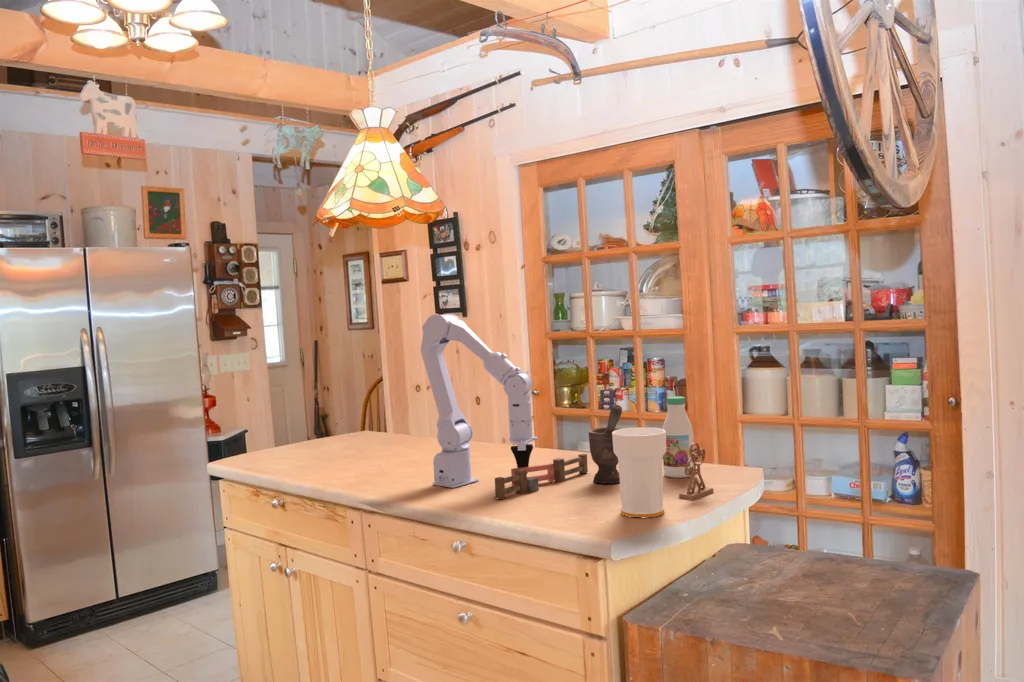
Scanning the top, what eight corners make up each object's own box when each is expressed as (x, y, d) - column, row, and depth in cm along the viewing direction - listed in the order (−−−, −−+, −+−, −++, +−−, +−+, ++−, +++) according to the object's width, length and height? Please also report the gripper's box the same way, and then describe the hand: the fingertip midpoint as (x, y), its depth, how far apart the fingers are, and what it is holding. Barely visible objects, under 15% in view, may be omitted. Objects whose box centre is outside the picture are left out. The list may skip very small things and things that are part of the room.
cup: (642, 523, 162) (638, 437, 161) (604, 513, 171) (600, 432, 170) (681, 512, 169) (677, 430, 168) (642, 503, 178) (638, 425, 177)
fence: (504, 500, 187) (503, 477, 186) (495, 499, 189) (493, 476, 188) (591, 473, 211) (590, 452, 211) (582, 472, 213) (581, 451, 213)
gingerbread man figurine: (693, 500, 178) (691, 447, 177) (678, 498, 181) (676, 445, 180) (714, 492, 184) (712, 440, 184) (699, 490, 187) (697, 439, 186)
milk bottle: (672, 470, 209) (669, 394, 208) (700, 473, 204) (696, 395, 203) (658, 476, 203) (654, 398, 202) (686, 479, 198) (682, 399, 197)
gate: (552, 480, 204) (551, 463, 204) (554, 481, 203) (553, 464, 203) (512, 486, 200) (511, 468, 200) (513, 487, 199) (512, 469, 199)
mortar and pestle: (641, 482, 198) (638, 402, 197) (618, 489, 192) (614, 406, 191) (607, 476, 207) (603, 399, 206) (583, 482, 201) (580, 403, 200)
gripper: (536, 424, 195) (539, 479, 195) (535, 415, 209) (538, 467, 210) (507, 425, 195) (511, 480, 195) (508, 417, 209) (511, 468, 210)
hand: (523, 473), depth 202 cm, fingers closed, pressing on gate
